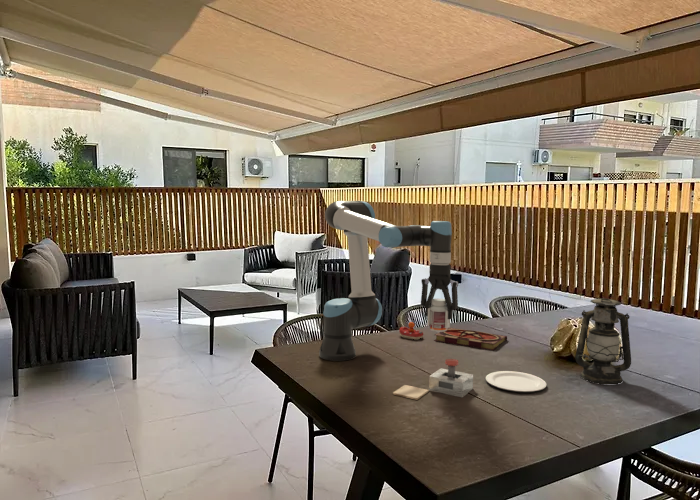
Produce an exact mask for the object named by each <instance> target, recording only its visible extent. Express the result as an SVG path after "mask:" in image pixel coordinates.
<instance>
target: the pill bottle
mask: <svg viewBox="0 0 700 500" xmlns="http://www.w3.org/2000/svg"><path fill="white" fill-rule="evenodd" d="M446 310H447V305H446V302H445V298H433V299H432V304H431V308H430V326H429V329H430V331H432V332H436V333H439V332H444V331H446V330H447V329H448V328H447V329H446V328H445V311H446Z"/></svg>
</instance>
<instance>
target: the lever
mask: <svg viewBox="0 0 700 500" xmlns="http://www.w3.org/2000/svg"><path fill="white" fill-rule="evenodd" d="M444 361H445V362H444V363H445V365H446V366H447V370H448V377H452V378H455V371H456V367H457V366H459V360H458V359H456V358H446V359H445V360H444Z"/></svg>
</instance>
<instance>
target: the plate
mask: <svg viewBox="0 0 700 500" xmlns="http://www.w3.org/2000/svg"><path fill="white" fill-rule="evenodd" d="M485 381H486V382H487V383H488V384H489V385H490V386H493V387H495V388H497V389H500V390H504V391H509V392H517V393H535V392H539V391H543V390H544V389H546V388H547V385H548V384H547V382H546V381H545V380H544V379H542V378H541V377H539V376H536V375H534V374H531V373H526V372H522V371H521V372H520V371H511V370H500V371H493V372H490V373H489V374H487V375H486V376H485Z"/></svg>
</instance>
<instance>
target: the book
mask: <svg viewBox="0 0 700 500" xmlns="http://www.w3.org/2000/svg"><path fill="white" fill-rule="evenodd" d="M434 336H436V339H434V340H433V341H434V342H440V343H441V342H442V343H445V344H451V345H456V346H457V345H459V346H465V347H469V348H476V349H483V350H489V351H495V350H497V348H498V346H500V345H501V344H502V343H503V342H506V341H508V336H507V335H502V334H494V333H490V332H484V331H478V330H469V329H461V328H454V327H449V328H447V330H446V331H444V332H436V333H434ZM499 344H500V345H499Z"/></svg>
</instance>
